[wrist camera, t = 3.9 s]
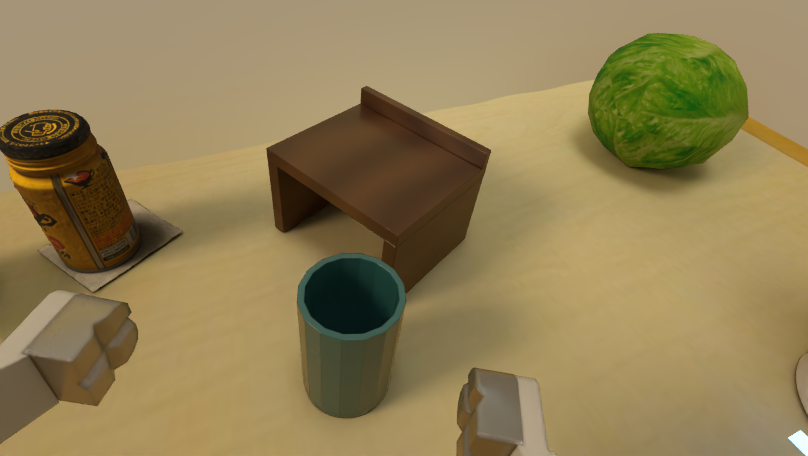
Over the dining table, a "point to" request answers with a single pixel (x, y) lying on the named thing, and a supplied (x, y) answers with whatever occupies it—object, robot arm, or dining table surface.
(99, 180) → the condiment
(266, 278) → the dining table surface
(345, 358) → the cup
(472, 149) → the shelf
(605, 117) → the lettuce
